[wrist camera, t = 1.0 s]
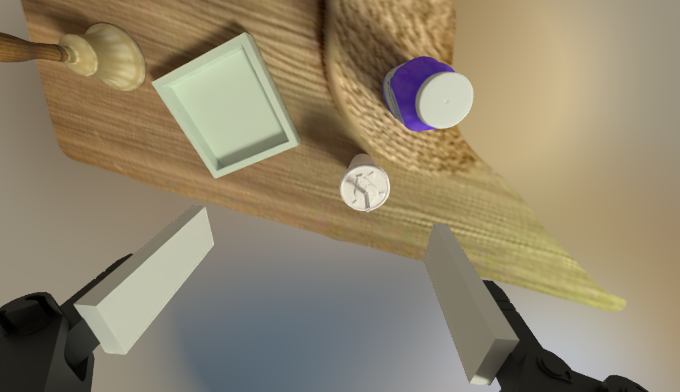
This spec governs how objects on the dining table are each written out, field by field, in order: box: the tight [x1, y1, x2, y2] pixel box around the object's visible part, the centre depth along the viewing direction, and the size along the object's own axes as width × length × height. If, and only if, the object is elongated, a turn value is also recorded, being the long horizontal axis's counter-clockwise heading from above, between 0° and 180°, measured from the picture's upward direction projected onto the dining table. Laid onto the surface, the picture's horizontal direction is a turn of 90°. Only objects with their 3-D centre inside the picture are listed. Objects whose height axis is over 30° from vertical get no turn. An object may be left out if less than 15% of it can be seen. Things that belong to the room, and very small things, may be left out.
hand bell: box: [0, 23, 146, 91], centre depth 27 cm, size 8×8×16 cm
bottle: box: [383, 57, 473, 131], centre depth 26 cm, size 7×6×17 cm
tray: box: [151, 32, 302, 179], centre depth 35 cm, size 15×15×2 cm
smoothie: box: [340, 154, 390, 212], centre depth 32 cm, size 6×6×14 cm
